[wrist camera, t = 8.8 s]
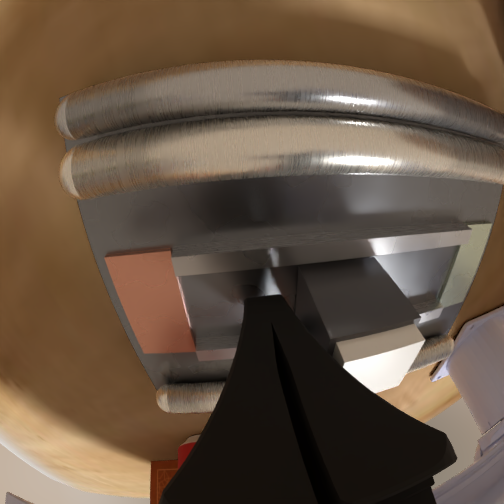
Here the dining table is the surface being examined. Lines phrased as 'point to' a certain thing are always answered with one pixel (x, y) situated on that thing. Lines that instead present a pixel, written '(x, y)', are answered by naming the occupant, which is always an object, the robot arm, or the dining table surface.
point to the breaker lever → (360, 319)
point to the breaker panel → (273, 199)
